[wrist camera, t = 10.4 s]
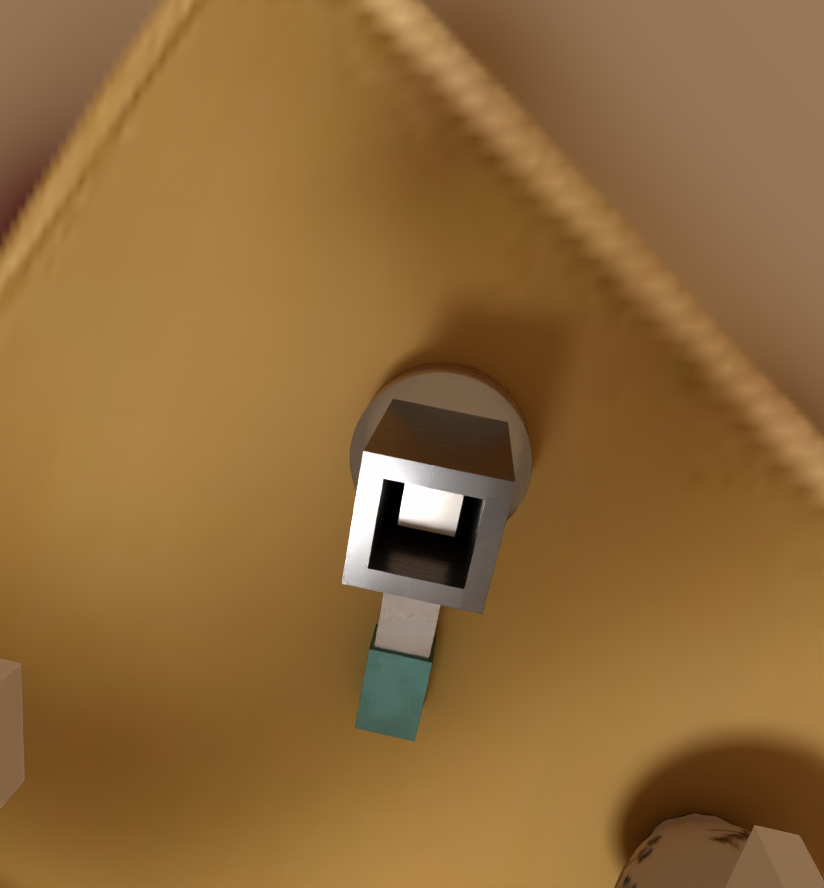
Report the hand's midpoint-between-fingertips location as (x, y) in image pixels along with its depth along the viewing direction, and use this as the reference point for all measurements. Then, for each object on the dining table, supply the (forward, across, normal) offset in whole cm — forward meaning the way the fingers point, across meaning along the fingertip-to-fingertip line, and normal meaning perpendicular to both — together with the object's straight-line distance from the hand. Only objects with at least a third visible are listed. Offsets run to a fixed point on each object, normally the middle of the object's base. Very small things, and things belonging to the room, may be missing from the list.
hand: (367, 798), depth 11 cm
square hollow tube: (+18, 0, 0) cm, 18 cm away
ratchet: (+20, 0, -6) cm, 21 cm away
